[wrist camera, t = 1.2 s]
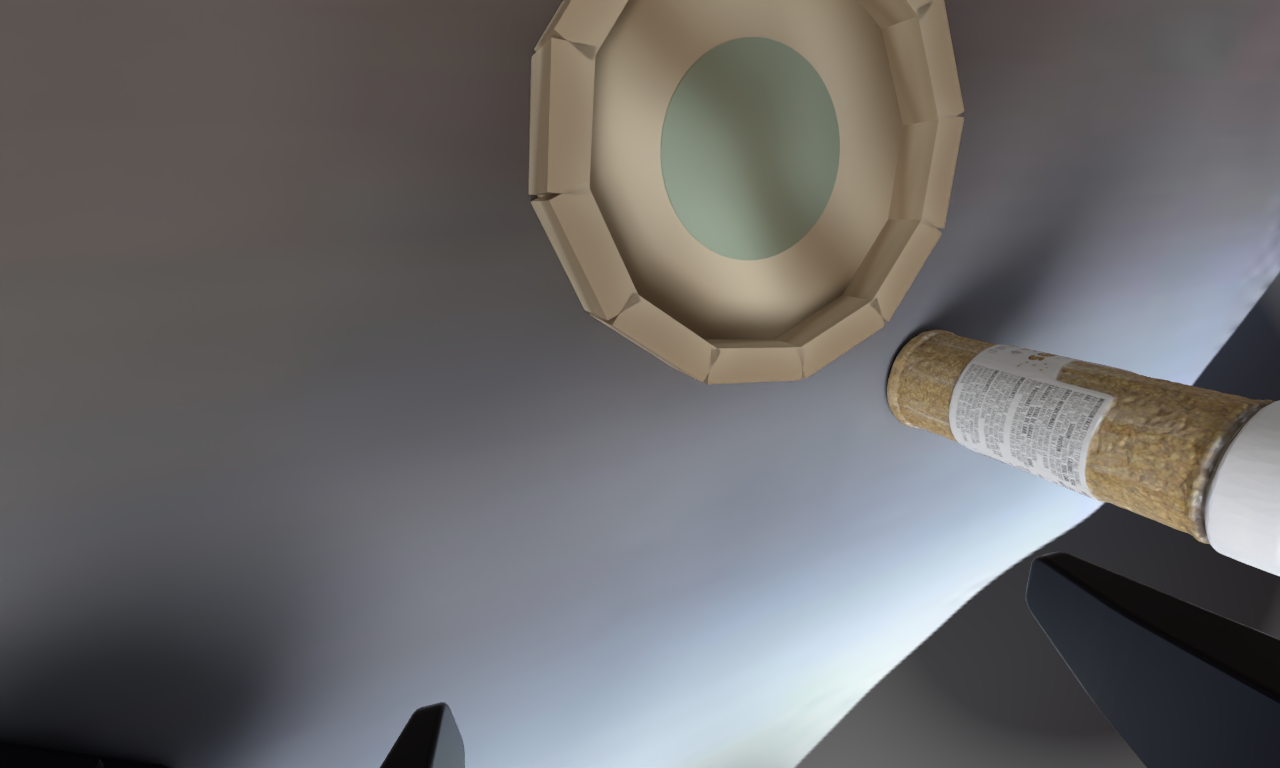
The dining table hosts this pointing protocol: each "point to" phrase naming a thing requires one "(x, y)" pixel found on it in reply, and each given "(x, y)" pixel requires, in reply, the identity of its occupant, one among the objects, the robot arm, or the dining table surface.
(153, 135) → the dining table surface
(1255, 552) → the sprinkles bottle
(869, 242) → the tray
